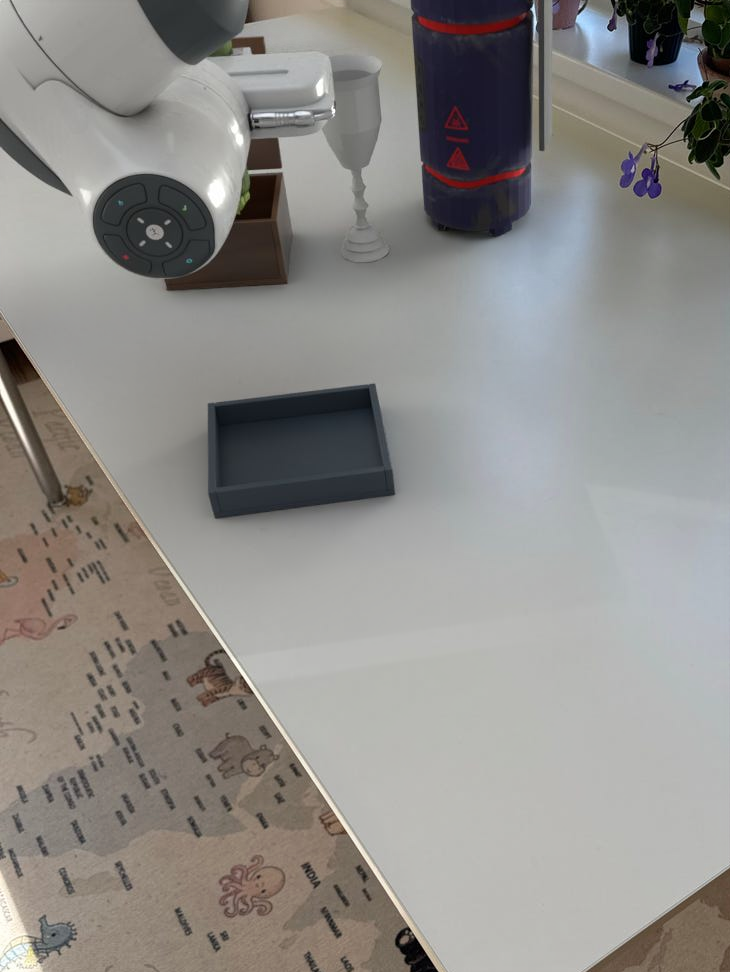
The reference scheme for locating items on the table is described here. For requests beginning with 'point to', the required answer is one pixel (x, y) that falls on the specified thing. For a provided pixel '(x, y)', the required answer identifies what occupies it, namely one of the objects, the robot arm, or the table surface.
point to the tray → (297, 450)
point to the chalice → (357, 143)
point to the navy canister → (479, 107)
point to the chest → (250, 242)
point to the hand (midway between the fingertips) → (206, 60)
